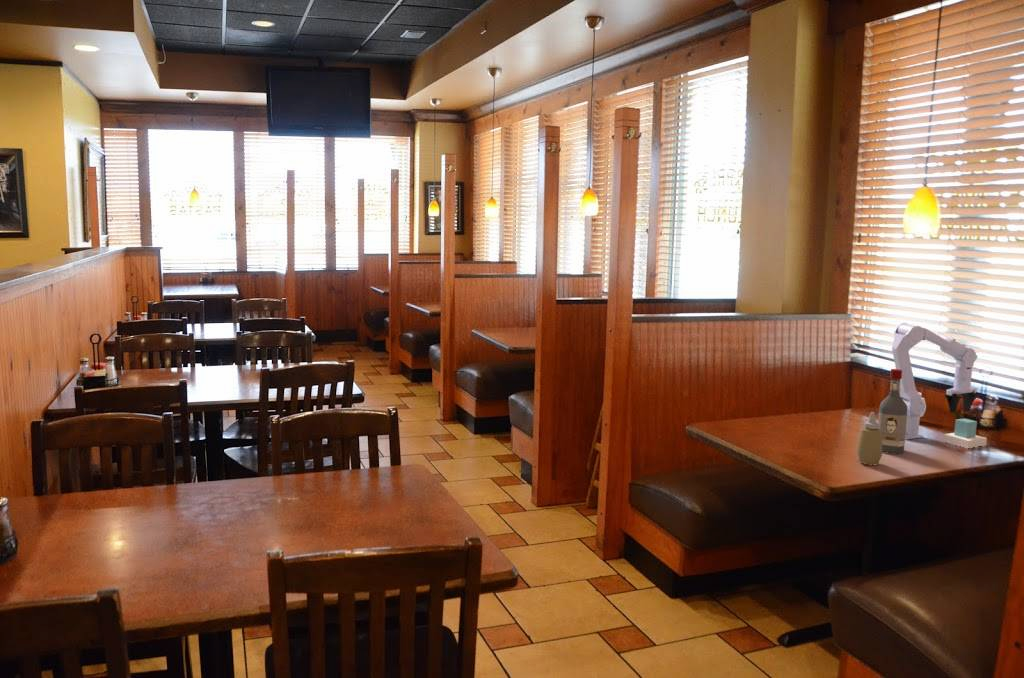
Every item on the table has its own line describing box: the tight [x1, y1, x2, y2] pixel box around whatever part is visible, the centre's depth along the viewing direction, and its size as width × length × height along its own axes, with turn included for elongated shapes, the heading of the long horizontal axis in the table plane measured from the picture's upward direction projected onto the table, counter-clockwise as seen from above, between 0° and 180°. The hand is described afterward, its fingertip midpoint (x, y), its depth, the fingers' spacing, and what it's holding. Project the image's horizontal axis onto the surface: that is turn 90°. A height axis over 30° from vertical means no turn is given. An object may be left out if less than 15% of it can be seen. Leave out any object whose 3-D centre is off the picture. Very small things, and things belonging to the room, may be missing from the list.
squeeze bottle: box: [856, 411, 883, 466], centre depth 276 cm, size 8×8×18 cm
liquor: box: [877, 368, 907, 455], centre depth 291 cm, size 9×9×30 cm
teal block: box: [953, 417, 978, 438], centre depth 302 cm, size 5×5×6 cm
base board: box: [943, 432, 988, 450], centre depth 303 cm, size 10×10×3 cm
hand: (959, 411), depth 314 cm, fingers open, 7 cm apart
